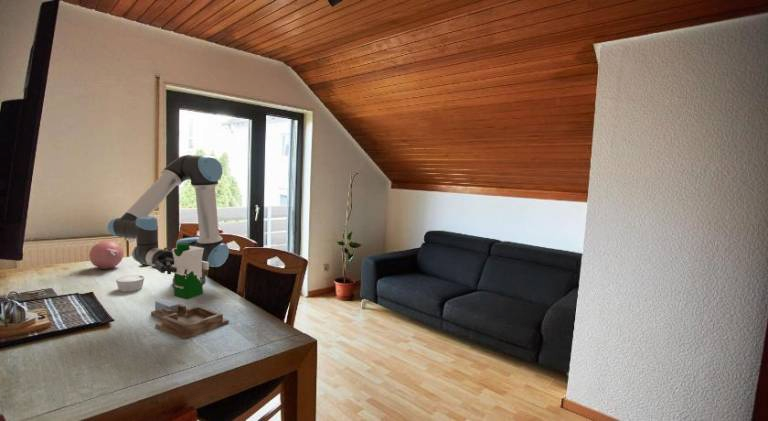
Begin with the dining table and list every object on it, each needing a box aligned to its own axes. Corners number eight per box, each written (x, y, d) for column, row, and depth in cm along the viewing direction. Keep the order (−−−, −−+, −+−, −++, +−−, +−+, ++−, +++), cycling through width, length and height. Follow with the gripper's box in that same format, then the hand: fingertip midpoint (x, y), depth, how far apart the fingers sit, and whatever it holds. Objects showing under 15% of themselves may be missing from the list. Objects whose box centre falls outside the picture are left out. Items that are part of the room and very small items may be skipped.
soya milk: (170, 296, 143) (168, 243, 140) (191, 289, 151) (190, 239, 148) (186, 301, 139) (185, 246, 136) (207, 294, 147) (206, 242, 145)
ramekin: (147, 289, 184) (147, 278, 183) (119, 294, 175) (119, 283, 175) (140, 284, 191) (140, 273, 191) (113, 288, 183) (113, 277, 182)
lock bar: (164, 306, 159) (163, 298, 159) (178, 312, 154) (178, 303, 154) (155, 309, 156) (155, 301, 155) (169, 315, 151) (169, 306, 151)
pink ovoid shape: (95, 275, 201) (94, 246, 199) (86, 267, 214) (85, 240, 212) (129, 270, 212) (129, 243, 211) (119, 263, 226) (118, 237, 224)
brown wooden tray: (180, 305, 165) (180, 296, 165) (228, 322, 150) (228, 312, 150) (136, 318, 150) (136, 308, 149) (184, 339, 134) (184, 327, 134)
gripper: (187, 262, 162) (221, 272, 151) (132, 274, 144) (166, 285, 132) (187, 245, 161) (221, 253, 150) (131, 254, 143) (166, 264, 131)
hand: (195, 268), depth 141 cm, fingers closed on soya milk, 9 cm apart
